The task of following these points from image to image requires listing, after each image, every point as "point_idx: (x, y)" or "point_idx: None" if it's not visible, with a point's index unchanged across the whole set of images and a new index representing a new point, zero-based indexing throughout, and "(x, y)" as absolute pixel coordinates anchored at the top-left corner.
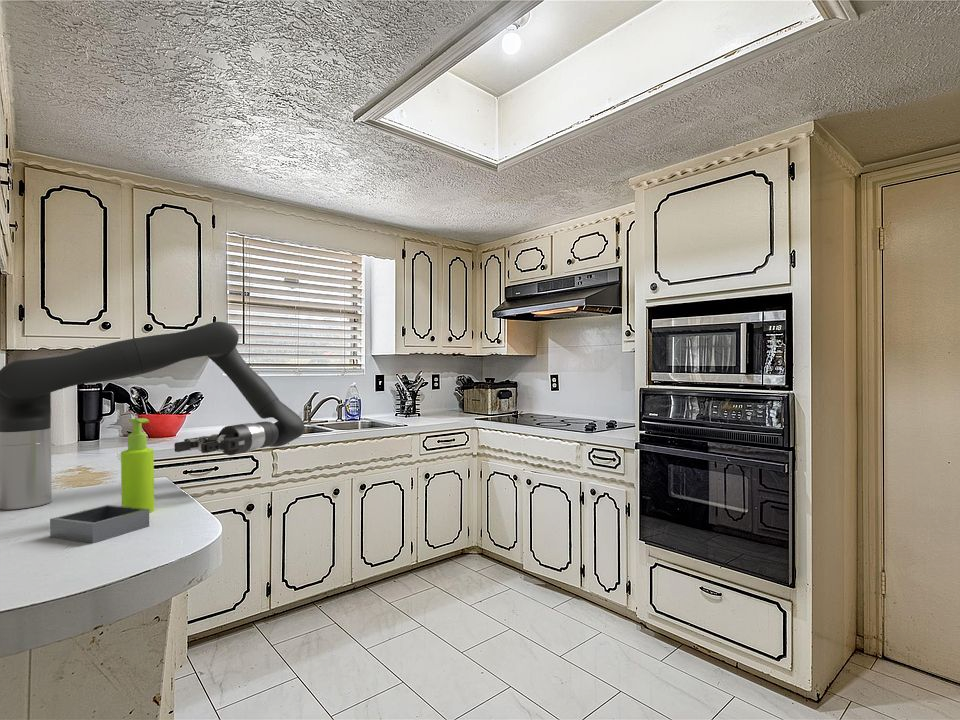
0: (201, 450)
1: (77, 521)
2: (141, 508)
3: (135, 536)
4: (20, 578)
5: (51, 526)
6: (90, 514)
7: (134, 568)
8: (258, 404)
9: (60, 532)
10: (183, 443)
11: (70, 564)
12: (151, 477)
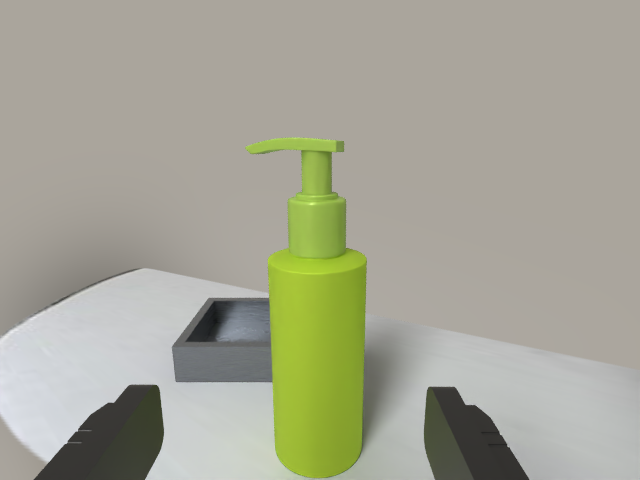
0: (160, 424)
1: (249, 299)
2: (194, 345)
3: (159, 349)
4: (195, 281)
5: None
6: None
7: (77, 303)
8: None
9: None
10: (449, 440)
11: (172, 297)
12: (271, 352)
